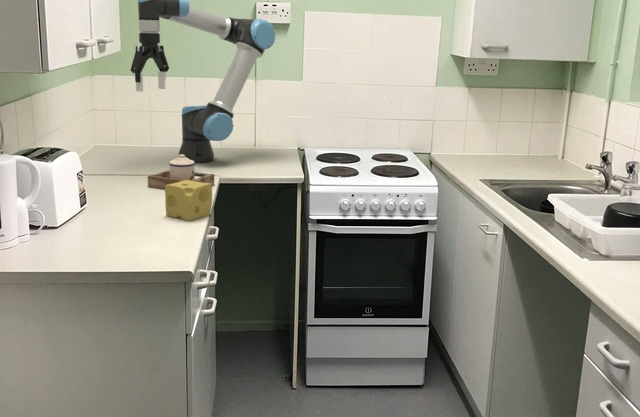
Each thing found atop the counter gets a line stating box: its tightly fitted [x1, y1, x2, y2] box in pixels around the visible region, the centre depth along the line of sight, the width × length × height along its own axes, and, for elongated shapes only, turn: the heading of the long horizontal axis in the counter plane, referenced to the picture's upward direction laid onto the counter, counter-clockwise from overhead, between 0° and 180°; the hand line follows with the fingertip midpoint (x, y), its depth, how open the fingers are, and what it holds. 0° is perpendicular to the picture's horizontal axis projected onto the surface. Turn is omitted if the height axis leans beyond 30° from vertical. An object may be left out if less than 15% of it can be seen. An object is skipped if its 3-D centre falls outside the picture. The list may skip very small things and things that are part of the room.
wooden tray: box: [147, 169, 215, 191], centre depth 252 cm, size 15×18×4 cm
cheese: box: [164, 180, 213, 222], centre depth 214 cm, size 10×11×10 cm
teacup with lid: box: [168, 154, 196, 180], centre depth 251 cm, size 12×9×12 cm
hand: (151, 90), depth 265 cm, fingers open, 13 cm apart
